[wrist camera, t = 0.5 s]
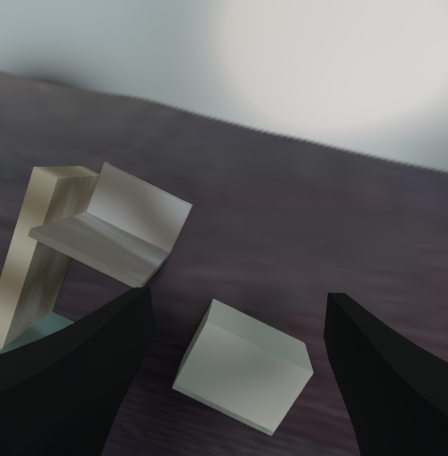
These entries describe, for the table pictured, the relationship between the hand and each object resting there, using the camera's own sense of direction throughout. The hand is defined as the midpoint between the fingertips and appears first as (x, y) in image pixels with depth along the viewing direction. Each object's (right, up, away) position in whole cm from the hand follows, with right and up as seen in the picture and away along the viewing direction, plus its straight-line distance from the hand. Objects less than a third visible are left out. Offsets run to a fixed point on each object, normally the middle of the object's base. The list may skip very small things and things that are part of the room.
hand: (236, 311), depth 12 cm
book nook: (-11, -1, +12) cm, 16 cm away
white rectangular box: (+1, -7, +12) cm, 14 cm away
